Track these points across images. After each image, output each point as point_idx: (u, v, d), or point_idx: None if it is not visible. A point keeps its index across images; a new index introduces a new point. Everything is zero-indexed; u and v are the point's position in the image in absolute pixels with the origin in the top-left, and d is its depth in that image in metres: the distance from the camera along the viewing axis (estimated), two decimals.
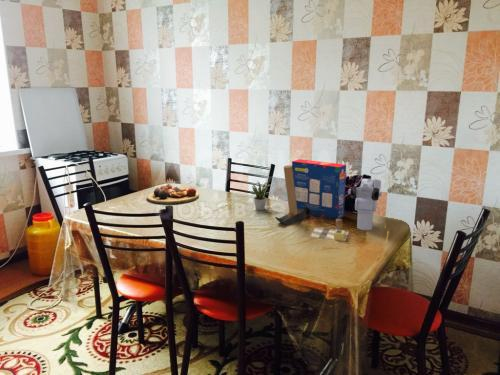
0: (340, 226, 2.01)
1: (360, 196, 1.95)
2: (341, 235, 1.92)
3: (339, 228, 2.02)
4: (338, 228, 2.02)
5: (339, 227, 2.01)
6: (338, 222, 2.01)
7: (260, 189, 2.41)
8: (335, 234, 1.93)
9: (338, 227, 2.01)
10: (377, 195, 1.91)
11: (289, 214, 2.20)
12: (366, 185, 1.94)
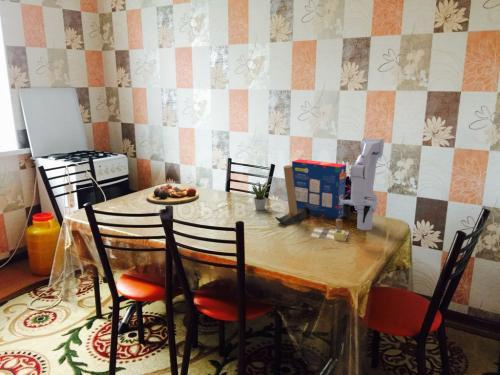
0: (340, 226, 2.01)
1: None
2: (341, 235, 1.92)
3: (339, 228, 2.02)
4: (338, 228, 2.02)
5: (339, 227, 2.01)
6: (338, 222, 2.01)
7: (260, 189, 2.41)
8: (335, 234, 1.93)
9: (338, 227, 2.01)
10: None
11: (289, 214, 2.20)
12: (357, 205, 1.86)
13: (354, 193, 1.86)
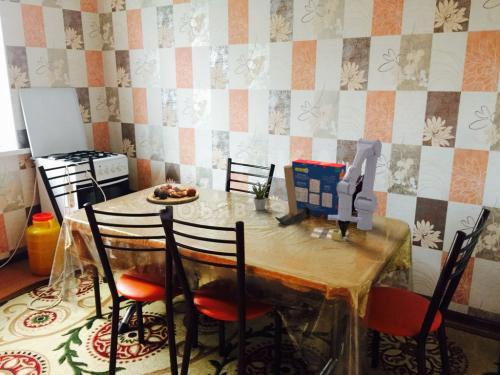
0: None
1: None
2: (338, 235, 1.93)
3: (339, 228, 2.02)
4: (338, 228, 2.02)
5: (339, 227, 2.01)
6: None
7: (260, 189, 2.41)
8: (332, 234, 1.94)
9: (338, 227, 2.01)
10: None
11: (289, 214, 2.20)
12: (344, 220, 1.90)
13: (341, 209, 1.90)
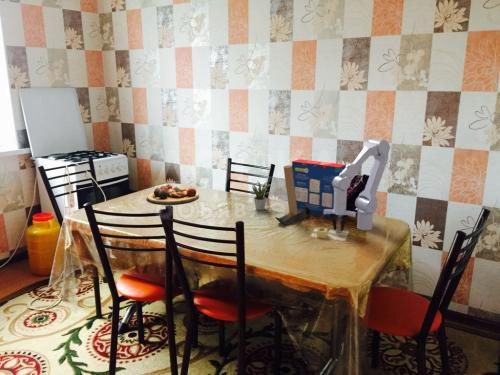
0: (340, 226, 2.01)
1: None
2: (324, 233, 1.95)
3: (339, 228, 2.02)
4: (338, 228, 2.02)
5: (339, 227, 2.01)
6: (338, 222, 2.01)
7: (260, 189, 2.41)
8: (318, 232, 1.96)
9: (338, 227, 2.01)
10: None
11: (289, 214, 2.20)
12: (339, 214, 1.98)
13: (336, 203, 1.98)
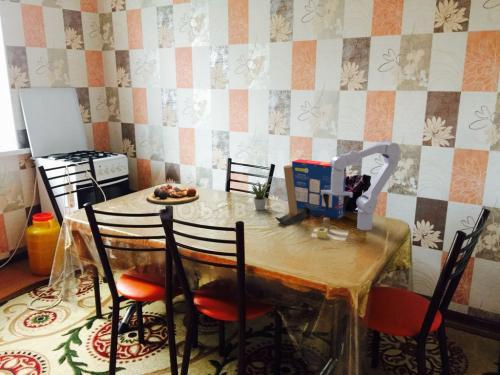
0: (327, 225, 2.03)
1: None
2: (324, 233, 1.95)
3: (326, 227, 2.03)
4: (325, 227, 2.03)
5: (326, 226, 2.03)
6: (325, 221, 2.03)
7: (260, 189, 2.41)
8: (318, 232, 1.96)
9: (325, 226, 2.03)
10: None
11: (289, 214, 2.20)
12: (336, 194, 1.99)
13: (333, 183, 1.99)
